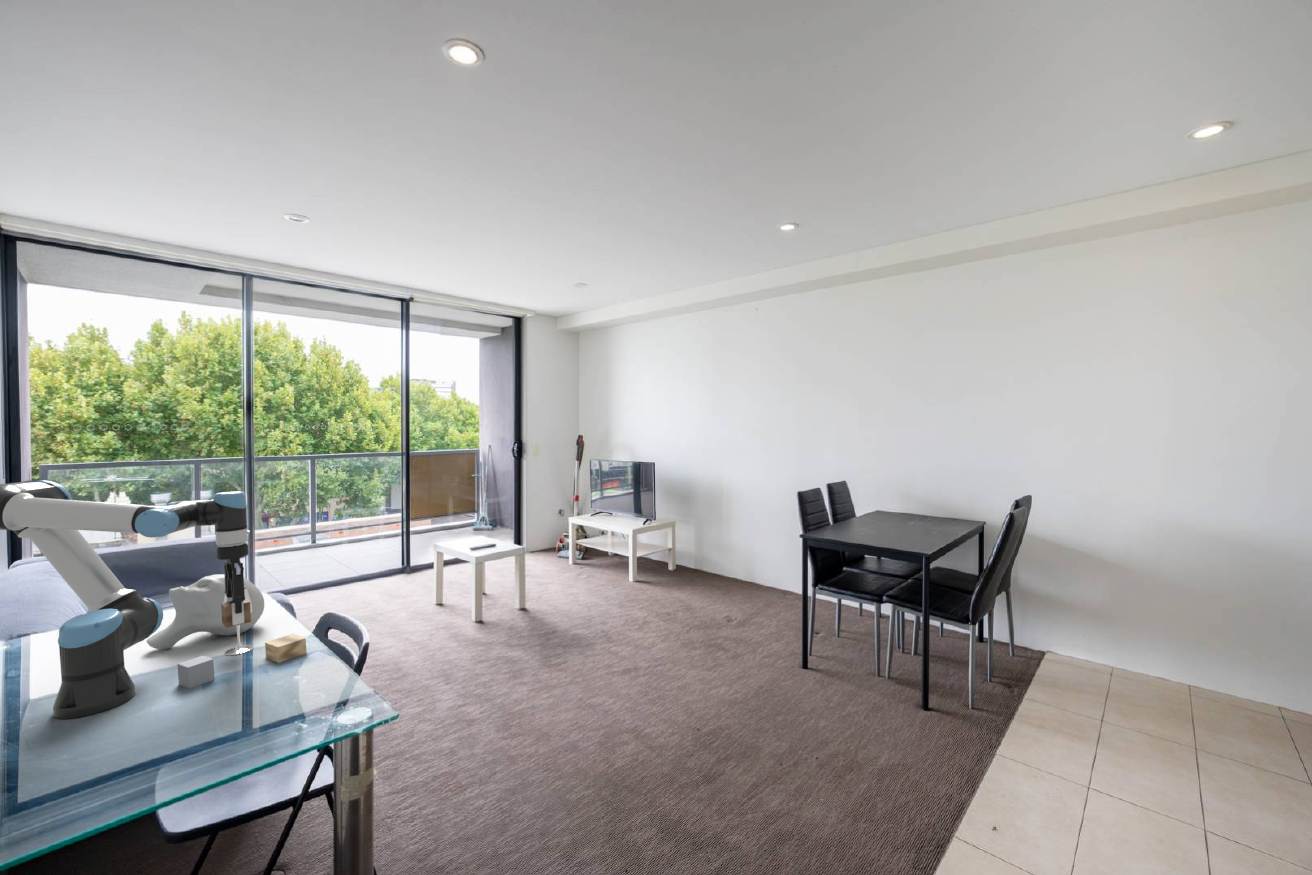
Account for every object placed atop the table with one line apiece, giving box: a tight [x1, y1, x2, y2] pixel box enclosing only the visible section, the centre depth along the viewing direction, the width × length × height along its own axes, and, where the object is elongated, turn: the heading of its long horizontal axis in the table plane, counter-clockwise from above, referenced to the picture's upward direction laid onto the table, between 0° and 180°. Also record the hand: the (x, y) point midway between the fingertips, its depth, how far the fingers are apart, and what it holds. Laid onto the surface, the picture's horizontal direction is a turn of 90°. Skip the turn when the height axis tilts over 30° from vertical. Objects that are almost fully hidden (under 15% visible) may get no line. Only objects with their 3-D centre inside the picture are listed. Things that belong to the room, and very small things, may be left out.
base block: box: [264, 633, 308, 663], centre depth 173 cm, size 8×8×5 cm
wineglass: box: [223, 587, 254, 656], centre depth 178 cm, size 8×8×20 cm
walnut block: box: [221, 598, 251, 628], centre depth 164 cm, size 6×6×6 cm
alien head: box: [146, 573, 265, 650], centre depth 190 cm, size 21×25×32 cm
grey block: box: [177, 655, 215, 689], centre depth 157 cm, size 6×6×6 cm
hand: (236, 621), depth 164 cm, fingers closed on walnut block, 6 cm apart
